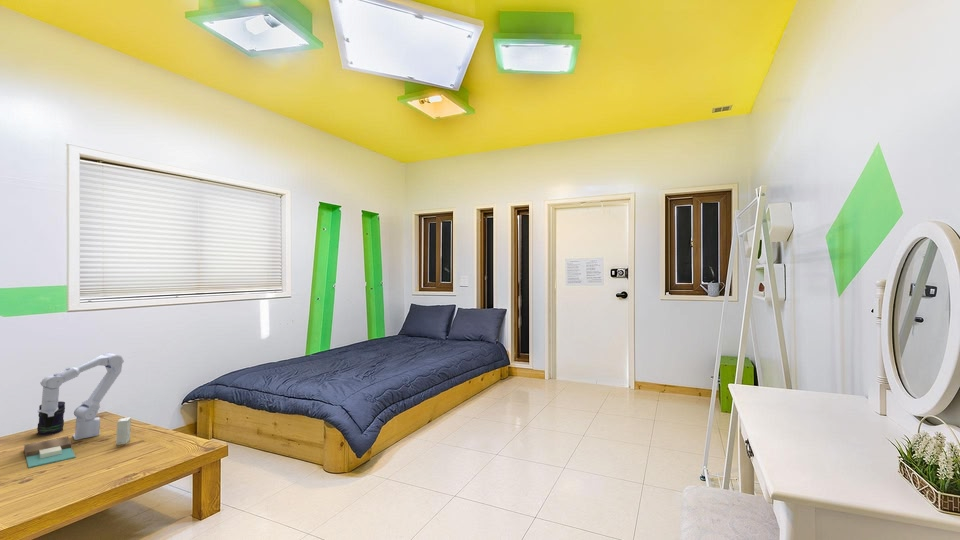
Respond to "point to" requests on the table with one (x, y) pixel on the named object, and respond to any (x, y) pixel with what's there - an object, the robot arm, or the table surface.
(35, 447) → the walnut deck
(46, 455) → the ceramic tile
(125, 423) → the skincare box
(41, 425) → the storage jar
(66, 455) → the teal mat
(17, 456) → the table surface
